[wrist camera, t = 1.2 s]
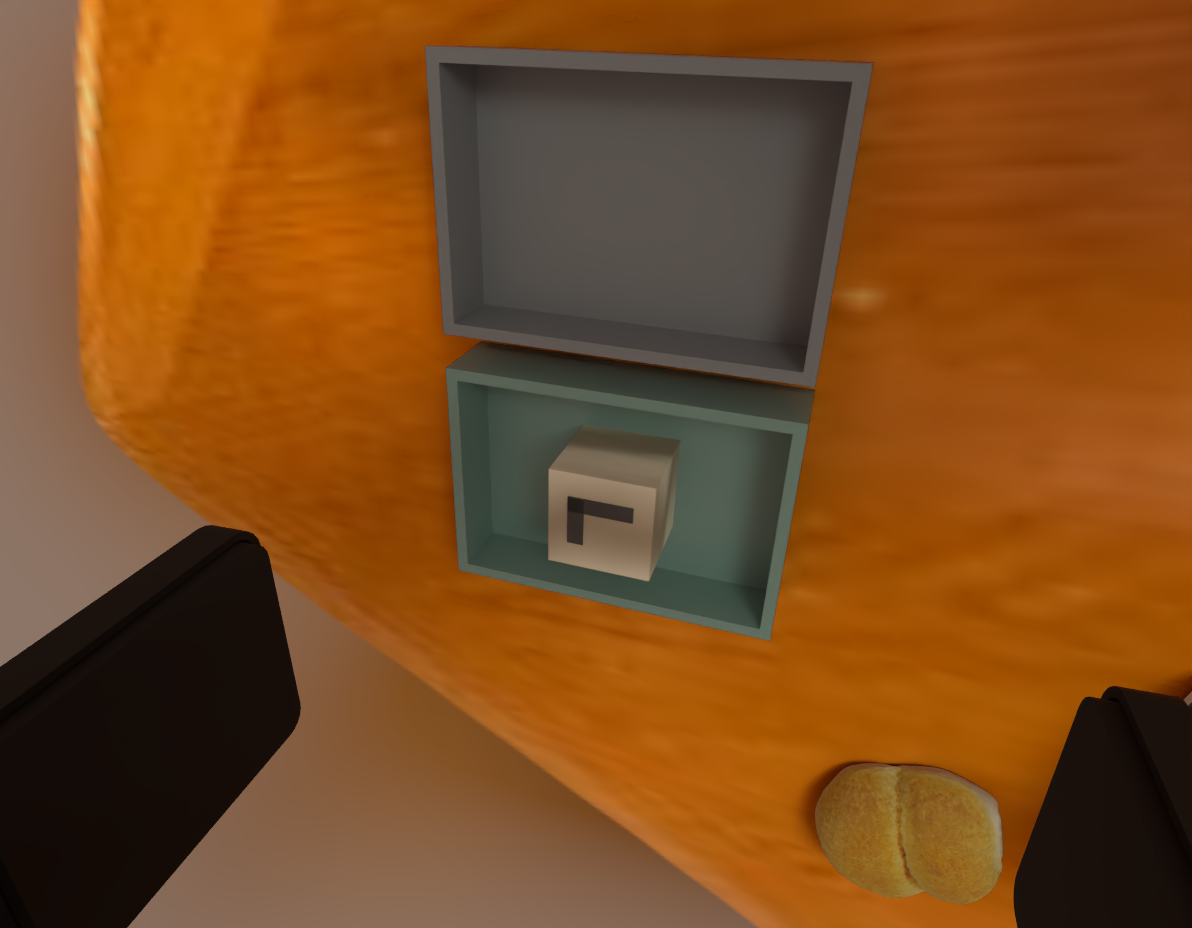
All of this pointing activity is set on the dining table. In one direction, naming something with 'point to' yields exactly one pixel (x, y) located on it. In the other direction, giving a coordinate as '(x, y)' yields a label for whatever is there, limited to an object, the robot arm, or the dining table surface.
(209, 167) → the dining table surface
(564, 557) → the letter cube
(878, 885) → the bread roll
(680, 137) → the charcoal bin
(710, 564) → the green-grey bin
